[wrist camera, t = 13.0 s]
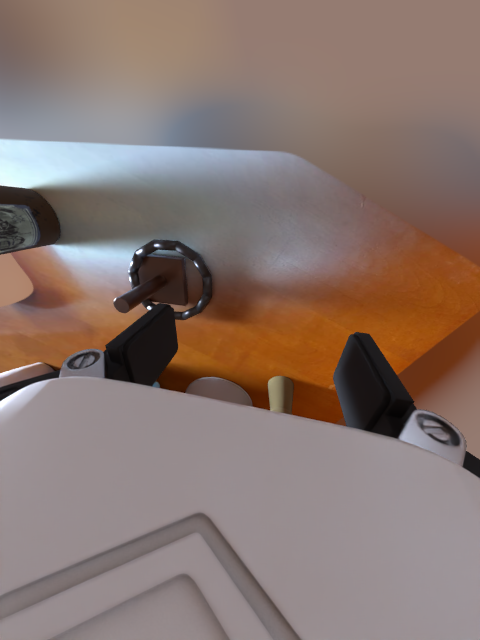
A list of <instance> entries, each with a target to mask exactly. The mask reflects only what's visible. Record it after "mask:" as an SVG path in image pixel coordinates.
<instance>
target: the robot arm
mask: <svg viewBox="0 0 480 640" xmlns="http://www.w3.org/2000/svg"><path fill="white" fill-rule="evenodd" d="M105 346H106V350H105V351H104V352H102V351H101V350H98V349H87V350H83V351H79V352H77V353H75V354H73V355H71V356H70V357H68V358H67V359H66V360H65V361H64V362H63V364H62V367H61V370H57V371H54V372H50V373H47V374H43V375H40V376H36V377H33V378H29V379H26V380H22V381H19V382H15V383H12V384H9V385H5V386H2V387H0V640H480V460H479V459H478V458H476V457H475V456H473V455H472V454H470V453H469V452H467V451H466V447H467V445H466V440H465V438H464V436H463V435H462V433H461V432H460V431H459V430H458V429H457V428H456V427H455V426H454V425H453V424H452V423H450V422H449V421H447V420H446V419H445V418H443V417H441V416H439V415H437V414H435V413H433V412H430V411H427V410H421V409H419V410H417V409H416V407H415V406H414V404H413V403H414V401H413V399H412V398H411V396H410V395H409V393H408V392H407V390H406V389H405V387H404V386H403V384H402V383H401V381H400V380H399V378H398V377H397V375H396V373H395V372H394V370H393V369H392V367H391V366H390V364H389V363H388V361H387V360H386V358H385V357H384V355H383V354H382V352H381V351H380V349H379V348H378V346H377V345H376V343H375V342H374V340H373V339H372V337H371V336H370V335H369V334H366V333H359V332H355V333H354V334H351V335H350V336H349V338H348V341H347V343H346V345H345V348H344V350H343V353H342V355H341V358H340V360H339V362H338V365H337V367H336V370H335V372H334V376H333V380H334V384H335V387H336V391H337V394H338V398H339V401H340V405H341V408H342V412H343V415H344V419H345V422H346V426H347V427H346V426H341V425H337V424H333V423H328V422H323V421H318V420H314V419H309V418H304V417H299V416H295V415H290V414H285V413H280V412H275V411H271V410H266V409H261V408H256V407H251V406H246V405H241V404H236V403H232V402H227V401H222V400H217V399H212V398H207V397H202V396H197V395H192V394H187V393H182V392H177V391H171V390H166V389H161V388H156V387H152V386H153V384H154V383H155V382H156V380H157V379H158V377H159V376H160V375H161V373H162V372H163V370H164V369H165V368H166V366H167V365H168V363H169V362H170V361H171V359H172V358H173V357H174V355H175V354H176V352H177V350H178V342H177V333H176V325H175V316H174V309H173V308H171V306H170V305H168V304H162V303H159V304H157V305H156V306H155V307H153V308H152V309H151V310H150V311H148V312H147V313H146V314H144V315H143V316H142V317H141V318H139V319H138V320H137V321H136V322H134V323H133V324H132V325H131V326H129V327H128V328H127V329H126V330H124V331H123V332H122V333H121V334H119V335H118V336H117V337H116V338H114V339H113V340H112V341H111V342H109V343H108V344H107V345H105Z"/></svg>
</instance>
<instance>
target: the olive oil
mask: <svg viewBox="0 0 480 640" xmlns="http://www.w3.org/2000/svg"><path fill="white" fill-rule="evenodd" d="M59 236H60V224H59V221H58V218H57V216H56V214H55V212H54V210H53V209H52V207H51V206H50V204H49V203H48V202H47V201H46V200H45V199H44V198H43V197H42V196H40V195H39V194H38V193H36V192H34V191H32V190H29V189H25V188H17V187H8V186H0V255H1V254H6V253H11V252H16V251H20V250H25V249H31V248H36V247H41V246H46V245H51V244H54V243H55V242H56V241H57V240H58V239H59Z"/></svg>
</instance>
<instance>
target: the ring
mask: <svg viewBox="0 0 480 640" xmlns="http://www.w3.org/2000/svg"><path fill="white" fill-rule="evenodd" d="M156 250H173V251H177V252H179V253H181V254H182V255H184V256H185V257H187V258H189V259H190V260H192V261H193V262H194V264H195V265H196V267H197V269H198V270H199V272H200V274H201V275H202V277H203V295H202V297H201V299H200V300H199V302H198V304H197V305H196V306H195V307H193V308H191V309H189V310H186V311H184V312H175V311H174V316H175V319H176V320H186V319H188V318H190V317H192V316H195V315H197V314H199V313H201V312H202V311H203V310H204V308H205V306H206V305H207V303H208V302H209V300H210V298H211V297H212V275H211V273H210V272H209V270H208V268H207V266H206V265H205V263H204V261H203V259H202V258H201V256H200V255H199V254H198V253H196V252H195V251H193V250H192V249H190V248H189V247H187V246H186V245H184V244H182V243H181V242H179V241H172V240H157V239H155V240H152V241H151V242H149V243H147V244H146V245H144V246H142V247H141V248H139V249H137V250H136V251H135V253H134V256H133V258H132V261H131V264H130V266H129V269H128V273H129V278H130V282H131V287H132V289H134V288H135V287H137V286H139V285H141V284H140V279H139V274H138V271H139V269H140V266H141V264H142V261H143V259H144V257H146V256H148V255H149V254H151V253H153V252H155V251H156ZM142 304H143V305H144V307H145V308H146V309H148V310H151V309H152V308H153V307H155V306H156V305H155V304H154V303H152V302H151V301H150V299H149V298H148V299H146V300H145V301H143V302H142Z"/></svg>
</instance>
